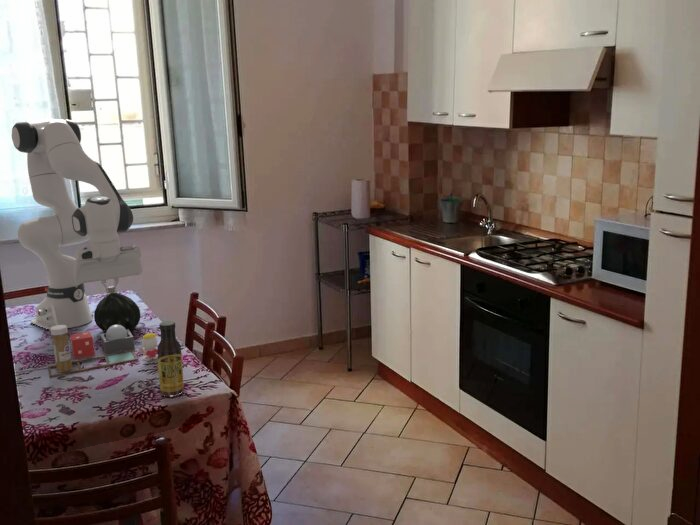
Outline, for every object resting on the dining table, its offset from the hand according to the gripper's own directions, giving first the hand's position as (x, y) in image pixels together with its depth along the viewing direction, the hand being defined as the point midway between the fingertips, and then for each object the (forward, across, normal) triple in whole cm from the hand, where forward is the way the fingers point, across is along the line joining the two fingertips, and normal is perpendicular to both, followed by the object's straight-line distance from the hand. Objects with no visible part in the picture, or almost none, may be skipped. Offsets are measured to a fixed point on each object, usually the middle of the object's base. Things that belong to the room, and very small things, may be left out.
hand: (111, 292), depth 221 cm
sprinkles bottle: (+19, +17, +11) cm, 27 cm away
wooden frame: (+18, +9, +11) cm, 23 cm away
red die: (+18, +11, 0) cm, 21 cm away
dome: (+17, 0, 0) cm, 17 cm away
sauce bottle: (+19, -7, +46) cm, 50 cm away
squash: (+18, -3, -17) cm, 26 cm away
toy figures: (+19, -10, +17) cm, 27 cm away
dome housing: (+18, 0, 0) cm, 18 cm away
